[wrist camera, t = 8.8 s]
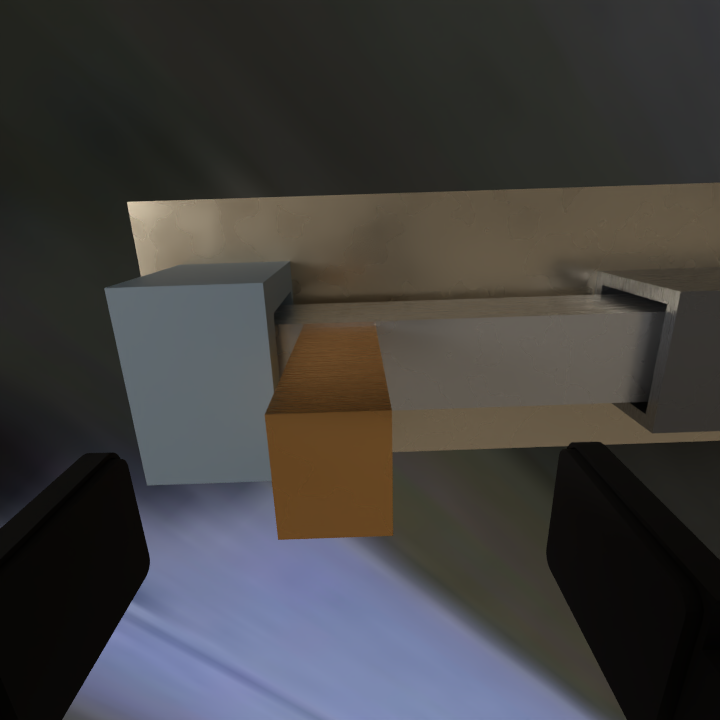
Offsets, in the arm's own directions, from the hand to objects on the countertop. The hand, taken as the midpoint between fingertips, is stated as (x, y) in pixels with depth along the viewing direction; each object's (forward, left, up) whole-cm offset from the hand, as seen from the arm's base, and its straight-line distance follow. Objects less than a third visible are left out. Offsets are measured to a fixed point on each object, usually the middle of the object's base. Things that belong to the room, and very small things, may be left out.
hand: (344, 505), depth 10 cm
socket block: (+6, 0, -14) cm, 15 cm away
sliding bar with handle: (-5, 0, -13) cm, 14 cm away
